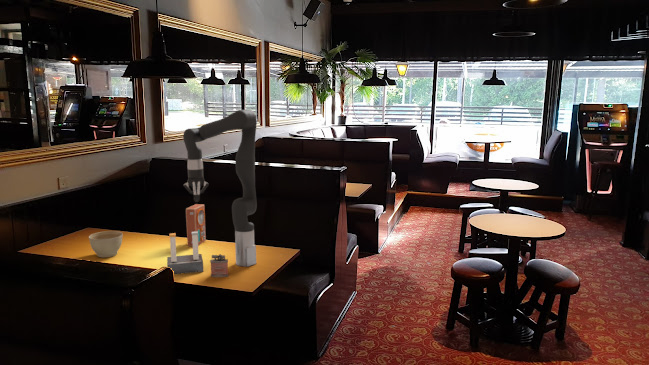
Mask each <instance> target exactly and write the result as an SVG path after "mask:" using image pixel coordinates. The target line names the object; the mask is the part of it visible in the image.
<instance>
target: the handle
mask: <svg viewBox="0 0 649 365" xmlns="http://www.w3.org/2000/svg"><path fill="white" fill-rule="evenodd" d="M192 242H193V246H192V255H193V260H198V259H199V254H200V253H199V245H198V231H196V232H192Z"/></svg>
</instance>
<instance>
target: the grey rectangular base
mask: <svg viewBox="0 0 649 365" xmlns="http://www.w3.org/2000/svg"><path fill="white" fill-rule="evenodd" d="M198 254H199V259H198V260H193V254H186V255H176V258H177V262H171V256H168V257H167V258H166V259H167V261H166V262H167V263H166V266H167V267H170V268H172V270H173V271H174V274H175V275H182V274H181V273H184V274H191V273H201V272H204V258H203V255H202V253H198Z"/></svg>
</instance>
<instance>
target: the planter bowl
mask: <svg viewBox="0 0 649 365" xmlns="http://www.w3.org/2000/svg"><path fill="white" fill-rule="evenodd" d="M123 234H124V233H123V232H121V231H116V230H115V231H114V230H109V231H108V230H107V231H100V232H94V233H91V234H90V235H89V236H88V240H89V244H90V247H91V249H92V250H93V252H94V253H95V254H96V256H97V257H99V258H110V257H111V258H112V257H115V256H116V255H117V254H118V252H119V250H120V248H121V246H122V244H123V236H124V235H123Z"/></svg>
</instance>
